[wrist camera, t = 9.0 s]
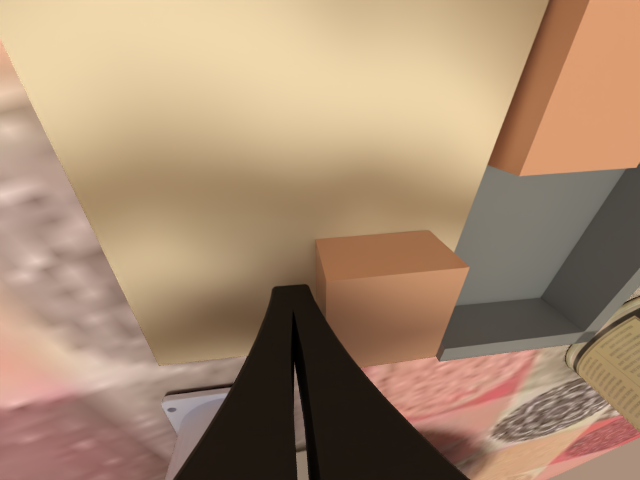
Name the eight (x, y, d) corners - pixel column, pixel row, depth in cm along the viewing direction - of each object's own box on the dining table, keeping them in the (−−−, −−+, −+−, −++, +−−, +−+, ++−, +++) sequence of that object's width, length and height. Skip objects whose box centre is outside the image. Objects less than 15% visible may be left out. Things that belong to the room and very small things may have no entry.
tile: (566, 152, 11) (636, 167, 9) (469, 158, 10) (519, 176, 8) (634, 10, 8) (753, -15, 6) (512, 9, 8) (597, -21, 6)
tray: (537, 301, 17) (588, 342, 14) (410, 313, 15) (439, 361, 13) (764, -41, 9) (991, -101, 6) (535, -80, 7) (692, -184, 4)
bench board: (406, 308, 15) (422, 336, 13) (173, 329, 13) (158, 365, 11) (514, -57, 7) (587, -101, 6) (-7, -138, 5) (-137, -244, 4)
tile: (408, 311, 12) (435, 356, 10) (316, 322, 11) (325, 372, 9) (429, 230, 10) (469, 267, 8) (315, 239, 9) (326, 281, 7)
